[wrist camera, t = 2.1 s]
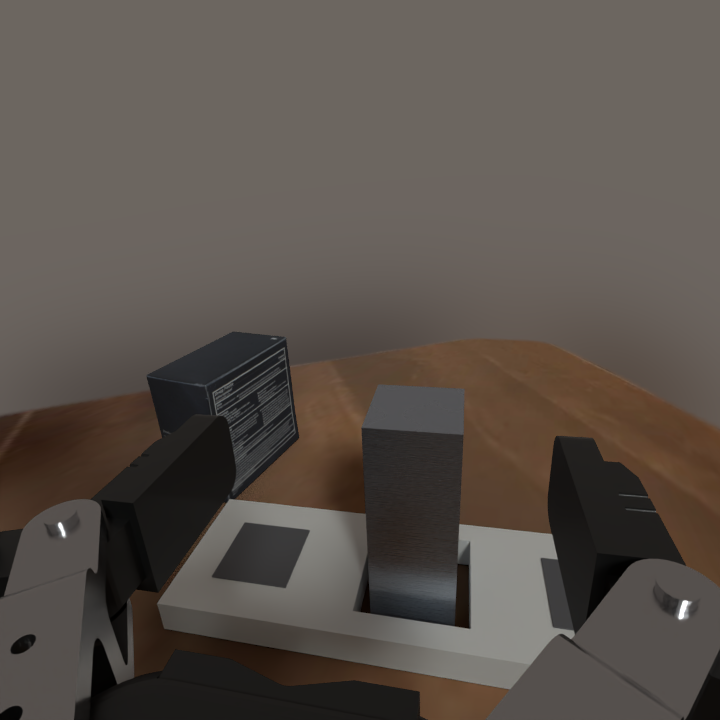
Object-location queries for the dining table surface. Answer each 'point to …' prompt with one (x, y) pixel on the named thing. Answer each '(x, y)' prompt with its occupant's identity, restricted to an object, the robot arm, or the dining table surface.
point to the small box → (233, 397)
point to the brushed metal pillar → (413, 500)
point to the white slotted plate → (346, 593)
